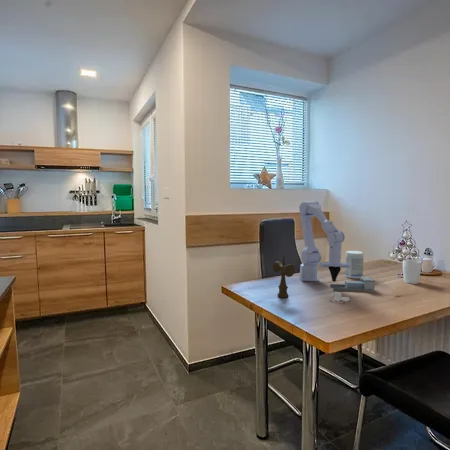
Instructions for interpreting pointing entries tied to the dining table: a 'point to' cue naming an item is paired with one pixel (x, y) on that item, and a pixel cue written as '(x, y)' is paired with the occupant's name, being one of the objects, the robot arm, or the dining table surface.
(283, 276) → the kendama
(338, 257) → the robot arm
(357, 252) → the supplement tub
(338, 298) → the teacup and saucer
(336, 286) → the track
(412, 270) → the cup
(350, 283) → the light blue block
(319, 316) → the dining table surface
